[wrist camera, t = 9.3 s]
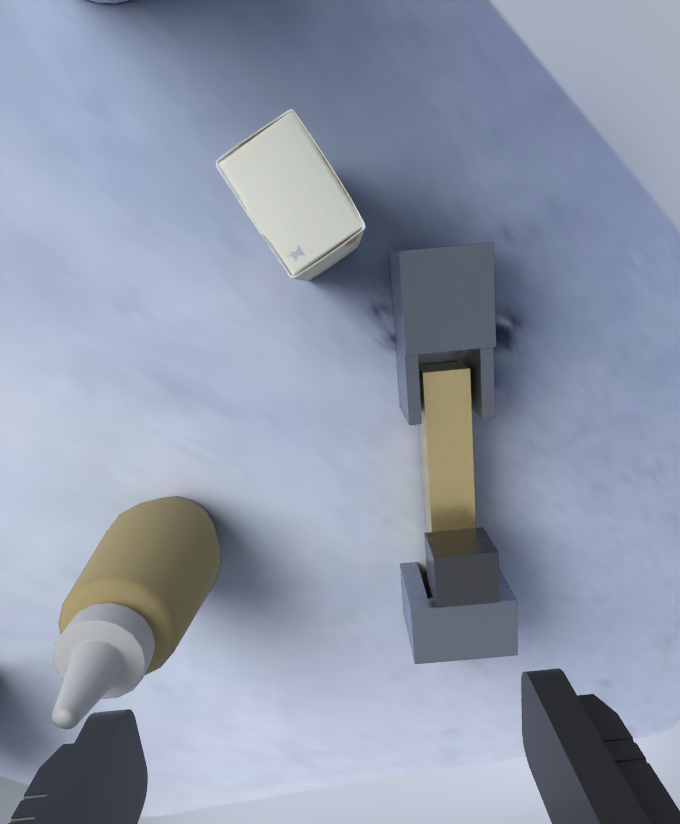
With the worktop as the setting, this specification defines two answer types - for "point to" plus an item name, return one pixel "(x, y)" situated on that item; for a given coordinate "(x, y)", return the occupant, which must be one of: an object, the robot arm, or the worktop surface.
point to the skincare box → (293, 197)
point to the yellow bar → (452, 492)
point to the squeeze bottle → (133, 602)
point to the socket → (457, 624)
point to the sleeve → (445, 319)
